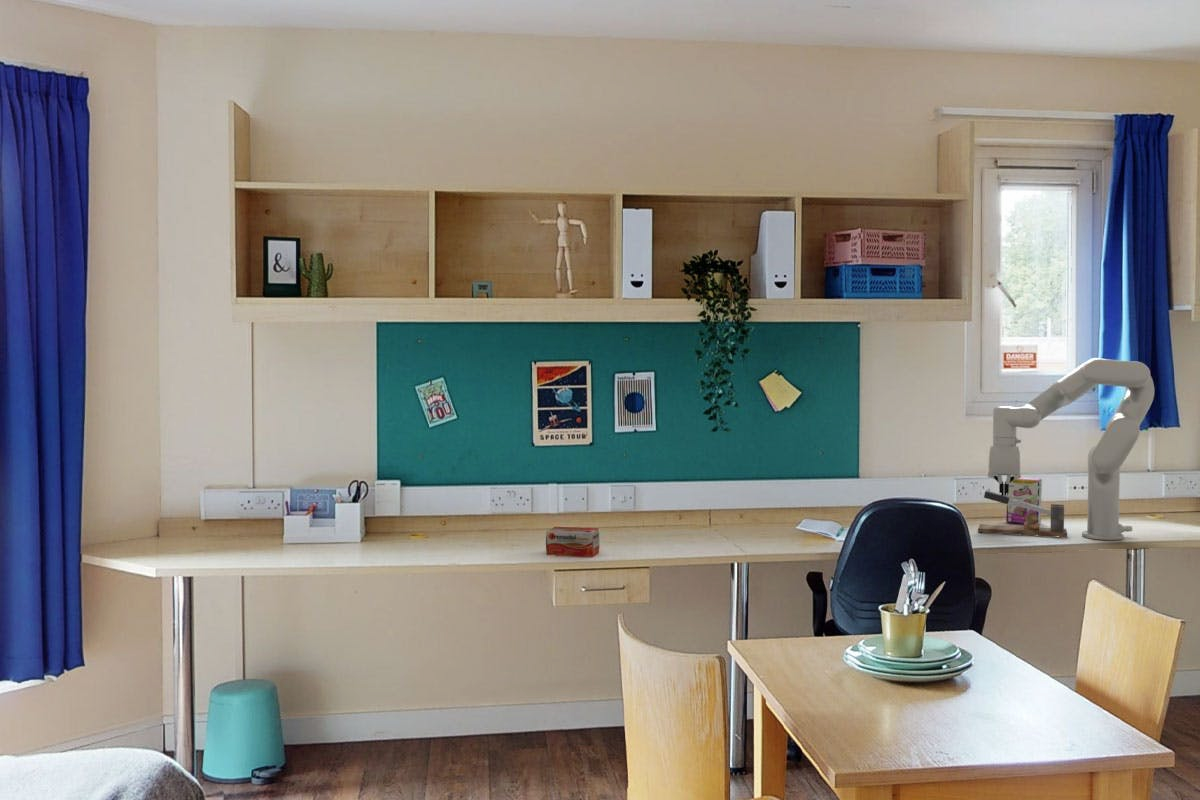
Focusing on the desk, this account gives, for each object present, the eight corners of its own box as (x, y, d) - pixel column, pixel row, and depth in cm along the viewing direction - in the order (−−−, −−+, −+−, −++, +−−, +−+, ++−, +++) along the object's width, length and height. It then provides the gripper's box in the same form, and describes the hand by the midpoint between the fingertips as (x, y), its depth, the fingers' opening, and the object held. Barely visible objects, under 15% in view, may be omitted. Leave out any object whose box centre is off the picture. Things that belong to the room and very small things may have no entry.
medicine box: (545, 556, 332) (545, 530, 332) (553, 551, 340) (553, 526, 340) (593, 558, 329) (593, 532, 328) (600, 553, 336) (599, 528, 336)
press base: (1066, 533, 369) (1066, 504, 369) (1067, 537, 360) (1067, 508, 360) (979, 528, 380) (979, 500, 379) (978, 532, 370) (978, 503, 370)
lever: (1059, 517, 367) (1061, 511, 367) (1059, 519, 364) (1061, 513, 363) (984, 496, 376) (985, 490, 375) (983, 497, 372) (985, 491, 372)
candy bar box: (1005, 523, 391) (1006, 478, 390) (1008, 521, 395) (1009, 476, 394) (1038, 525, 385) (1039, 479, 384) (1041, 523, 389) (1042, 478, 388)
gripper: (1027, 441, 371) (1027, 494, 372) (981, 440, 377) (981, 492, 378) (1028, 443, 364) (1027, 497, 365) (981, 442, 370) (980, 495, 371)
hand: (1003, 495), depth 371 cm, fingers closed
